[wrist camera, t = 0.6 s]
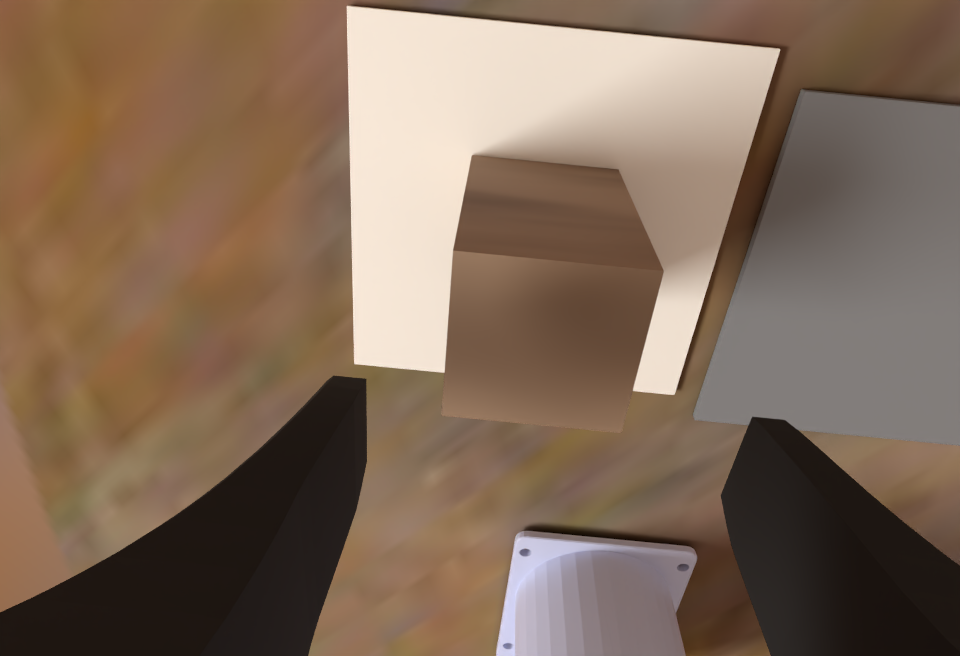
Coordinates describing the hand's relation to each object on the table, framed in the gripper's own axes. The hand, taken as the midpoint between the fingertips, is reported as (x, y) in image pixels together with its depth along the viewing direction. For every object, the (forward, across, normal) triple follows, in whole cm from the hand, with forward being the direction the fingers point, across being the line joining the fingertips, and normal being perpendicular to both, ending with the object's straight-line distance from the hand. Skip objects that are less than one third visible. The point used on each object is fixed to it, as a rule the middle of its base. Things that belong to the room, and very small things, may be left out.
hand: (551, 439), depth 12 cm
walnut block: (+10, 0, 0) cm, 10 cm away
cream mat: (+10, 0, 0) cm, 10 cm away
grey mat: (+10, -13, +1) cm, 17 cm away
